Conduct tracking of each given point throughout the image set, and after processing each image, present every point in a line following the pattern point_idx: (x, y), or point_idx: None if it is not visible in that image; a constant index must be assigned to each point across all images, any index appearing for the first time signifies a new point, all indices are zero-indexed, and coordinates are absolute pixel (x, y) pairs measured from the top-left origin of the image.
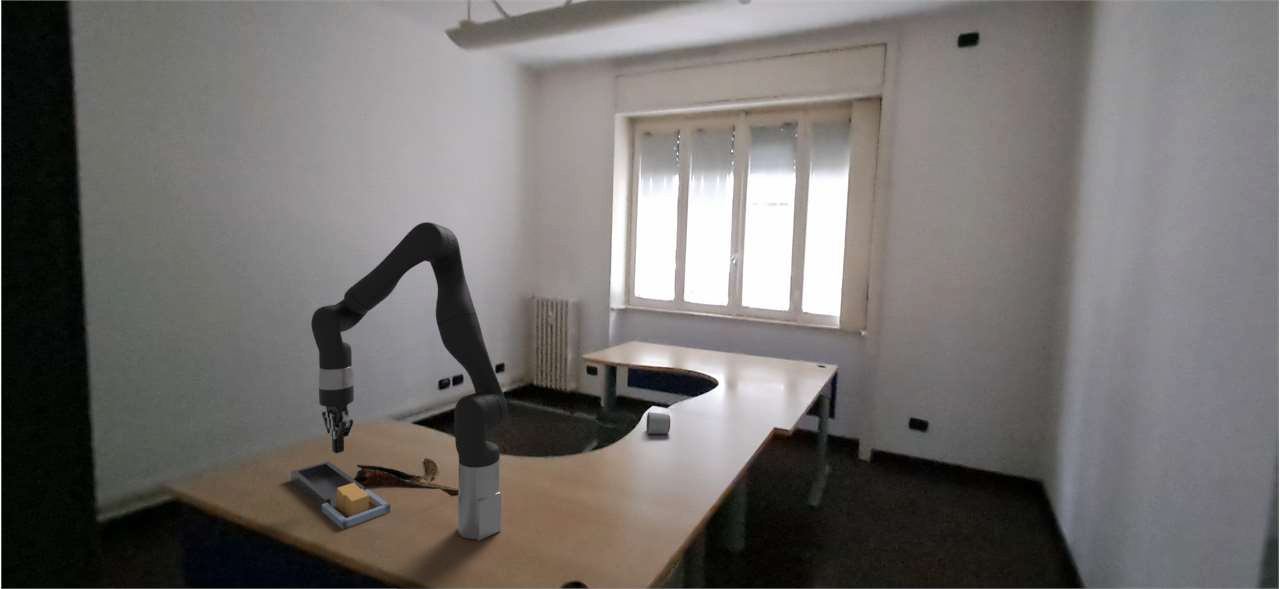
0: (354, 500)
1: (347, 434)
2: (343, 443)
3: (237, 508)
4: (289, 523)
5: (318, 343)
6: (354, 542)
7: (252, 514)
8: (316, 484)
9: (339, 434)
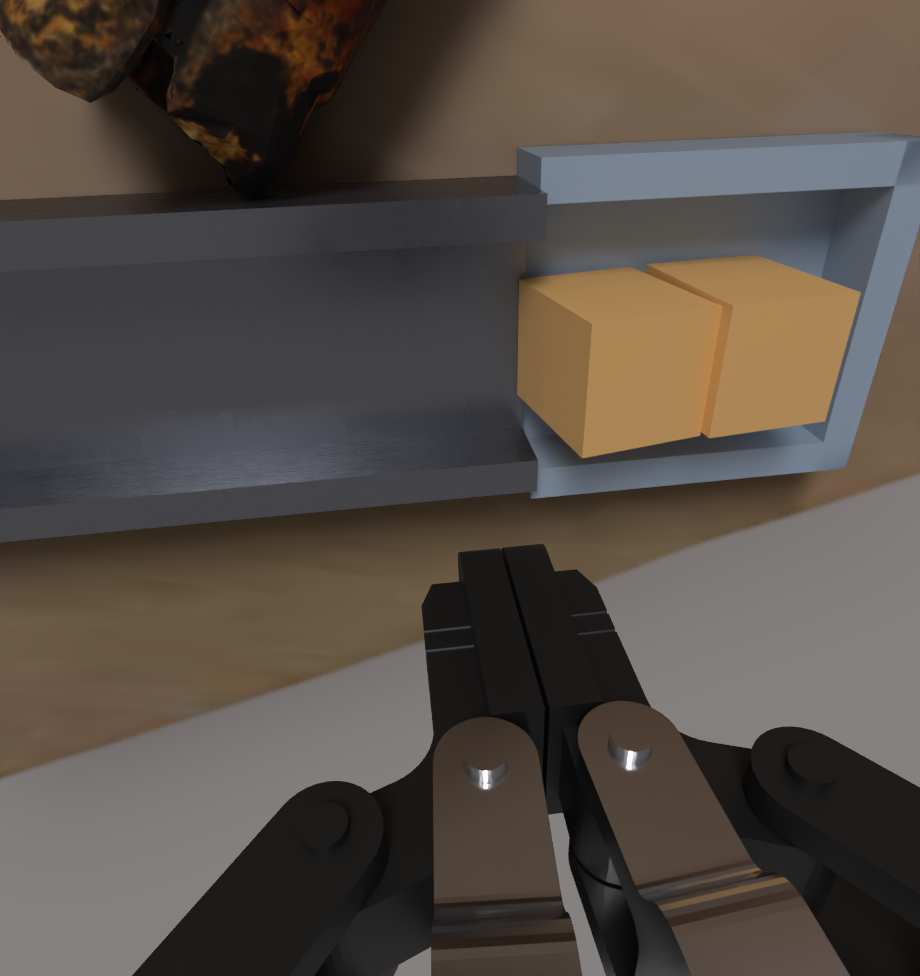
0: (828, 403)
1: (872, 781)
2: (569, 618)
3: (109, 724)
4: None
5: None
6: (906, 408)
7: (232, 685)
8: (46, 400)
9: (901, 935)
